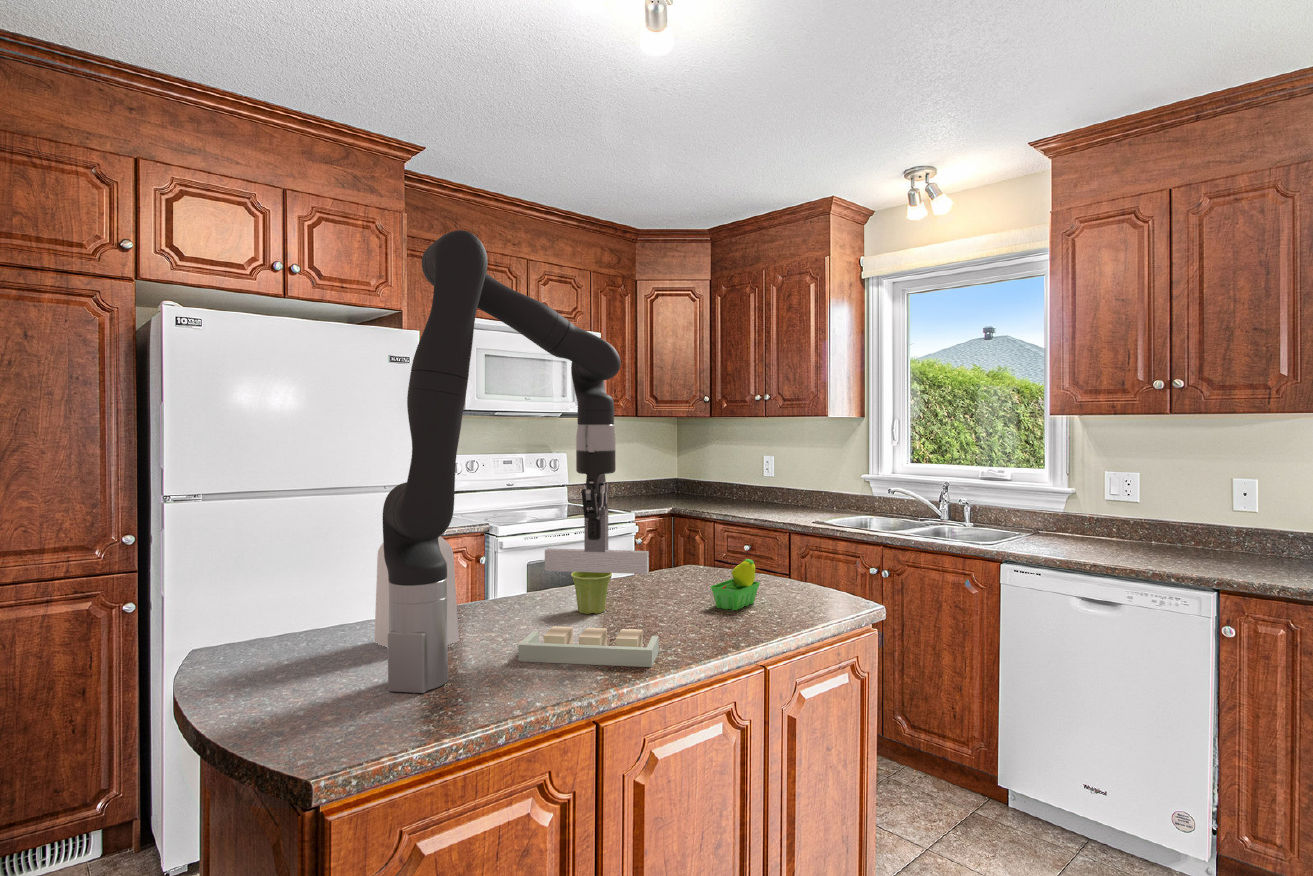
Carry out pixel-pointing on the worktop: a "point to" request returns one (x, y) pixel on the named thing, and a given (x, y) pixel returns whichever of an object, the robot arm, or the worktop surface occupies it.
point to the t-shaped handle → (597, 555)
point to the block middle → (593, 637)
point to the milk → (383, 596)
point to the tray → (587, 653)
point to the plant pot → (591, 591)
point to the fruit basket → (737, 588)
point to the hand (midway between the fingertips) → (596, 537)
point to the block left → (559, 635)
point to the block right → (630, 638)
